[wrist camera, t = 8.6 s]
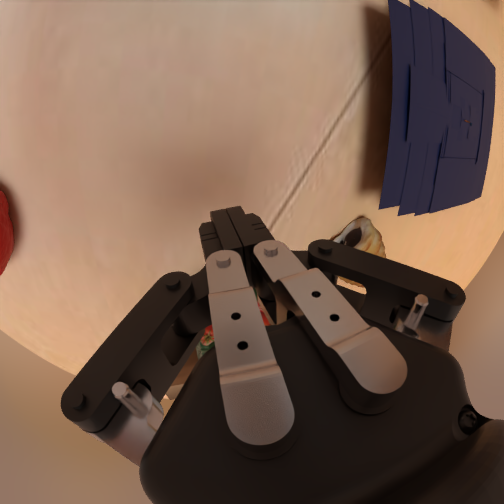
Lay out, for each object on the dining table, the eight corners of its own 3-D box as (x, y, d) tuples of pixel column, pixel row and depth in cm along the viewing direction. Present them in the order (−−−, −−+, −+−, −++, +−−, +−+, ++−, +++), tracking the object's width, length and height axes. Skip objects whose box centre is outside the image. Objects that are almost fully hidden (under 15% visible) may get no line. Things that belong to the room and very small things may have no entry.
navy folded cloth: (363, -17, 13) (392, -23, 10) (481, 62, 22) (499, 67, 20) (356, 215, 26) (381, 231, 23) (468, 192, 36) (484, 200, 33)
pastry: (385, 256, 33) (403, 273, 30) (347, 290, 34) (362, 309, 31) (360, 209, 28) (382, 225, 25) (314, 249, 29) (331, 270, 26)
